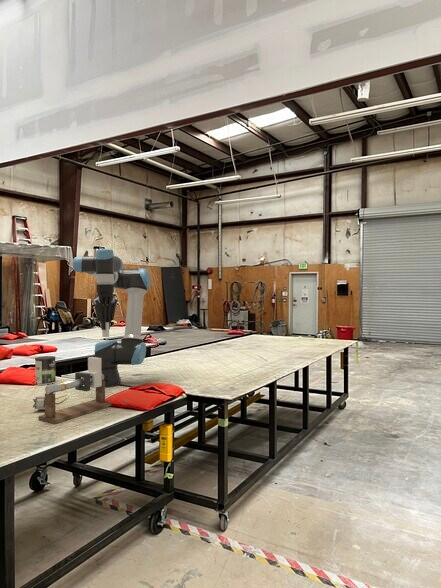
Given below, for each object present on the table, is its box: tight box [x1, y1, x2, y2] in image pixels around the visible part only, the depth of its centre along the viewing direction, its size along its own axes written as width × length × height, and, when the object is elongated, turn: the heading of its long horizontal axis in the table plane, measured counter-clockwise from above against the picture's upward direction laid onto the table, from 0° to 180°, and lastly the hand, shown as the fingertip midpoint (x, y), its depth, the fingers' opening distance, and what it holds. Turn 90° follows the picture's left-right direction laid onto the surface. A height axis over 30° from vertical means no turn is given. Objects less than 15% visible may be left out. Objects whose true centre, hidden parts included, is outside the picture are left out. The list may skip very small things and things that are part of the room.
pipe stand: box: [38, 380, 112, 425], centre depth 164 cm, size 28×10×10 cm, turn 149°
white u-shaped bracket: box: [83, 356, 102, 389], centre depth 172 cm, size 4×6×12 cm, turn 59°
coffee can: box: [34, 355, 57, 386], centre depth 219 cm, size 10×10×14 cm
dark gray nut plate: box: [74, 371, 91, 393], centre depth 167 cm, size 2×7×7 cm, turn 59°
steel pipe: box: [44, 374, 104, 394], centre depth 164 cm, size 27×3×3 cm, turn 149°
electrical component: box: [32, 394, 70, 410], centre depth 177 cm, size 24×6×5 cm, turn 178°
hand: (105, 337), depth 178 cm, fingers closed
